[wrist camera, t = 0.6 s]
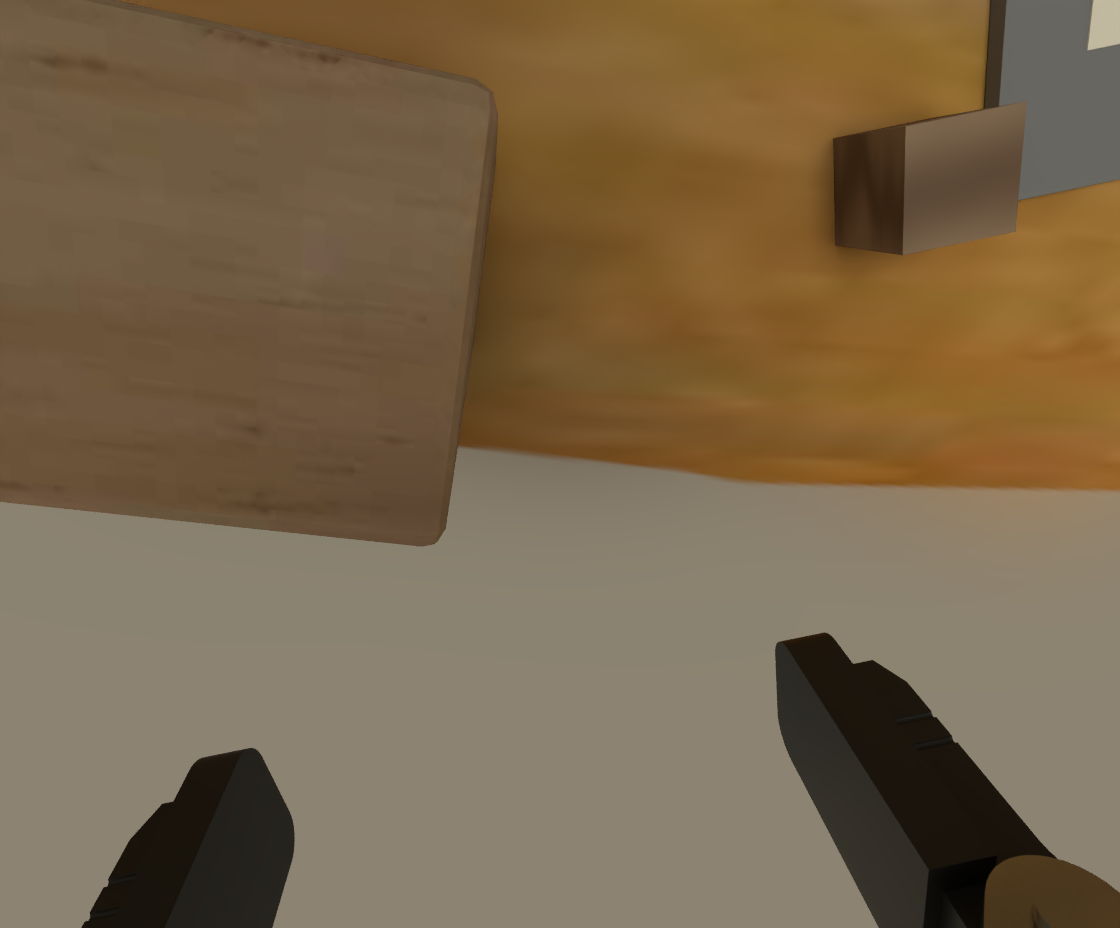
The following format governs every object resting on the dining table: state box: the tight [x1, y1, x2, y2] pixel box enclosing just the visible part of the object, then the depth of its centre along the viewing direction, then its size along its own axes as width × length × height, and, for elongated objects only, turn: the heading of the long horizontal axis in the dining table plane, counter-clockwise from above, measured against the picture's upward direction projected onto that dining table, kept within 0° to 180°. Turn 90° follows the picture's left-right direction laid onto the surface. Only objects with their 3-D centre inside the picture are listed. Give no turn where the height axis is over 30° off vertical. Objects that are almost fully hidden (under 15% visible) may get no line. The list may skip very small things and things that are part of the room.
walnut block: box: [833, 101, 1027, 255], centre depth 30 cm, size 5×5×6 cm
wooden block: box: [0, 0, 498, 546], centre depth 22 cm, size 10×10×20 cm
